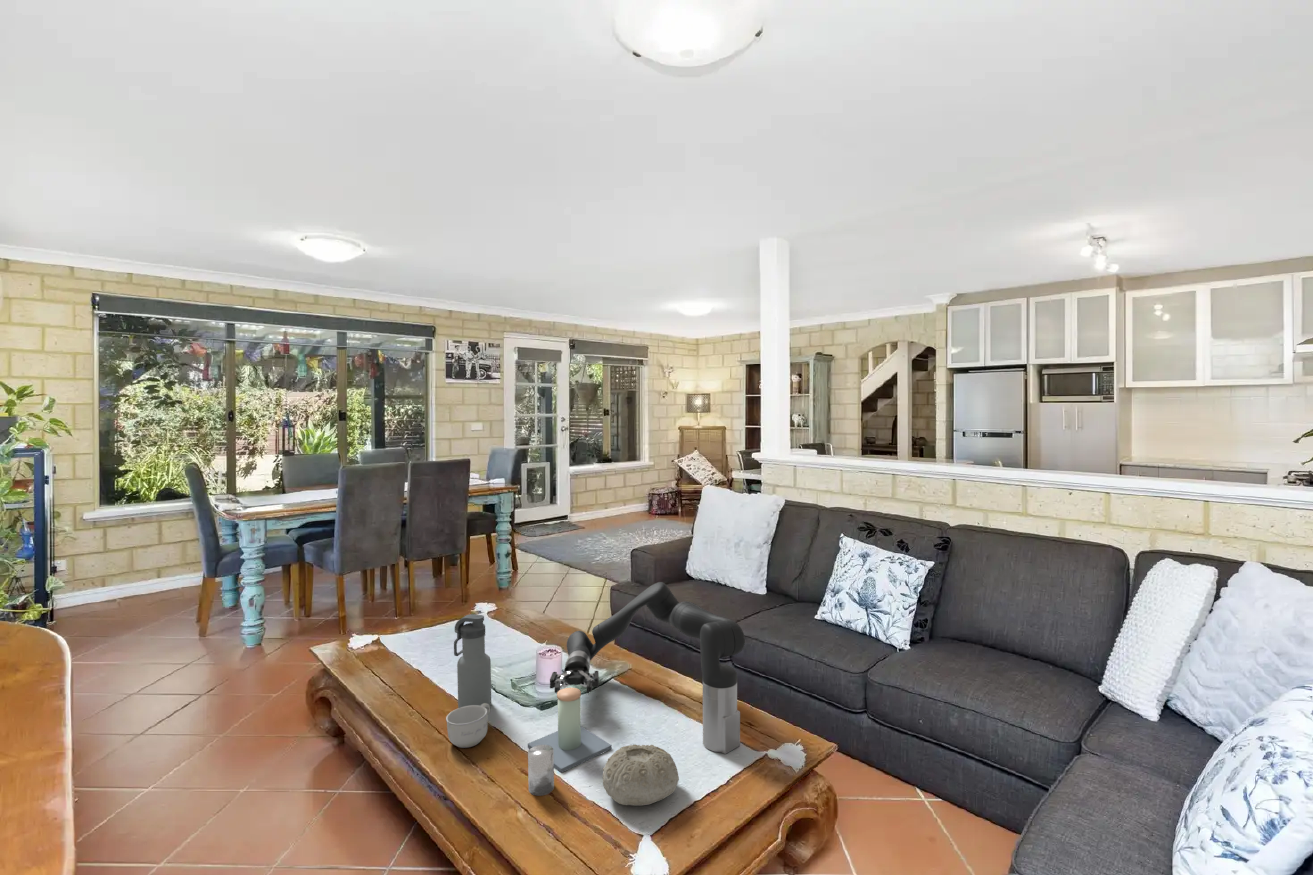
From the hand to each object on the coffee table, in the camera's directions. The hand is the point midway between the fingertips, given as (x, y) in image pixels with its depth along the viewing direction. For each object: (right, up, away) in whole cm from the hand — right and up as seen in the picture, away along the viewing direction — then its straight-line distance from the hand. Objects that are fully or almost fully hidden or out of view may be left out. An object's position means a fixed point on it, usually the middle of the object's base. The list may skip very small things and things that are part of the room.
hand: (572, 690), depth 178 cm
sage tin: (+1, -10, -11) cm, 15 cm away
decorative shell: (+20, -12, -31) cm, 39 cm away
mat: (+1, -11, -11) cm, 15 cm away
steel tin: (-4, -12, -28) cm, 31 cm away
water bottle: (-32, -10, +13) cm, 36 cm away
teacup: (-27, -11, -6) cm, 30 cm away
